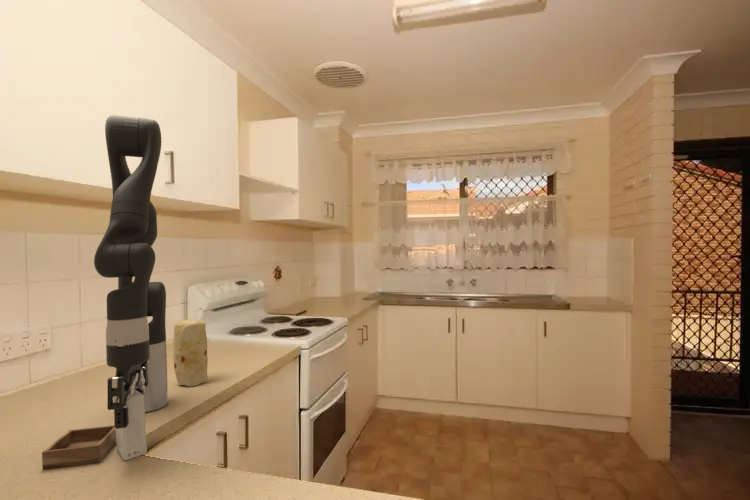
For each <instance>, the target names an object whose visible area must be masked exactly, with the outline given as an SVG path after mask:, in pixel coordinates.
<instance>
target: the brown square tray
mask: <svg viewBox="0 0 750 500" xmlns="http://www.w3.org/2000/svg"><path fill="white" fill-rule="evenodd" d="M115 445H116V430H115V424H114V425H106V426H105V425H104V426H96V427H89V428H88V427H87V428H79V429H69V430H68V431H66V432H65V433H64V434H63V435H62V436H60V437H59V438H58V439H57V440H56V441H54V442H53V443H51V444H50V445H49V446H48V447H47V448H46V449H44V450H43V451H42V452H41V458H42V459H41V461H42V462H41V463H42V470H50V469H59V468H66V467H67V468H68V467H74V466H82V465H90V464H92V465H93V464H99V463H100V462H101V461H102V459H104V458H105V456H107V455H108V453H109V452H110V451H111V450H112V449H113V447H114V446H115Z"/></svg>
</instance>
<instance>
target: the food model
mask: <svg viewBox="0 0 750 500" xmlns="http://www.w3.org/2000/svg"><path fill="white" fill-rule="evenodd" d="M206 329H207V327H206V321H203V320H201V319H199V320H198V319H189V318H188V319H182V320H180V321H178V322H176V323H174V327H173V348H172V349H173V351H172V354H173V368H174V374H175V378H176V382H177V383H178V385H180V386H186V387H188V388H189V387H190V388H192V387H195V386H198V385H200V384H202V383H205V382H207V380H208V378H209V377H208V376H209V375H208V367H209V365H208V364H209V362H208V358H209V357H208V339H207V338H208V337H207V330H206Z"/></svg>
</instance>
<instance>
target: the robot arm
mask: <svg viewBox="0 0 750 500" xmlns="http://www.w3.org/2000/svg"><path fill="white" fill-rule="evenodd" d="M104 131H105V136H104V137H105V143H106V152H107V156H108V158H107V159H108V163H109V172H110V177H111V178H110V180H111V187H112V188H111V189H112V200H111V207H110V214H109V215H110V216H109V222H108V226H107V229H106V231H105V232H104V235H103V236H102V239H101V241H100V243H99V244H98V246H97V249H96V251H95V254H94V257H93V258H94V259H93V263H94V268H95V271H96V272H97V274H99V275H100V276H101V277H103V278H108V279H109V278H114V279H115V278H118V279H117V287H118V288H117V289H113V290H111V291H109V292H108V293H107V296H106V328H105V344H106V345H105V348H106V349H105V350H106V353H105V354H106V365H107V366H108V367H111V368H115V369H116V370H115V376H114V377H108V378H107V408H106V409H107V410H108V411H111V410H112V411H114V412H113V417H114V425H115V428H116V429H119V428H126V427H127V426H128V424H129V421H128V403H129V399H130V397H131V396H133V393H134V389H135V390H137V391H138V392H140V393H141V394H143V395H144V408H145V413H149V412H153V411H157V410H160V409H161V408H163V407H166V406H167V405H168V402H169V397H168V396H169V394H168V393H169V391H168V363H167V362H168V361H167V359H168V358H167V357H168V355H167V332H166V331H167V330H166V311H167V310H166V307H167V290H166V287H165V284H164V282H161V281H151V277H152V274H153V271H154V268H155V263H156V253H155V251H154V248H153V247H152V246H153V245H154V243H155V242H156V239H157V237H158V220H157V219H158V218H157V215H158V214H157V211H156V208H155V205H154V204H153V203H152V201H151V195H152V191H153V186H154V182H155V179H156V174H157V170H158V169H157V168H158V165H159V161H160V155H161V152H162V151H161V150H162V132H161V127H160V125H159V123H158V121H157V120H155V119H152V118H148V117H140V116H131V115H121V114H110V115H108V116H107V117H106V120H105V125H104ZM126 157H131V158H132V157H134V158H142V159H141V161H140V163H139V164H138V166H137V168H135V170H134V171H133V172H132V173H131V170H130V168H129V165H128V162H127V159H126ZM148 317H151V318H152V319H151V320H150V322H149V320H148ZM113 397H114V399H113ZM124 397H125V399H124ZM118 400H119V402H118Z"/></svg>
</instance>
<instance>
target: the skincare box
mask: <svg viewBox="0 0 750 500" xmlns="http://www.w3.org/2000/svg"><path fill="white" fill-rule="evenodd" d="M113 399H114V397H113ZM124 399H125V397H124ZM118 402H119V400H118ZM128 421H129V424H128V426H127V427H126V428H119V429H116V428H115V430H116V444H115V445H116V452H117V453H118V454H119V455H120V456H121V458H122V459H123V460H124V461H129V460H131V459H134V458H137V457H140V456H143V455H145V454H147V452H148V444H147V442H148V441H147V430H146V429H147V428H146V412H145V408H144V395H143V394H141V393H140V392H138V391H137V390H135V389H134V393H133V396H131V397H130V399H129V403H128Z"/></svg>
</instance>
